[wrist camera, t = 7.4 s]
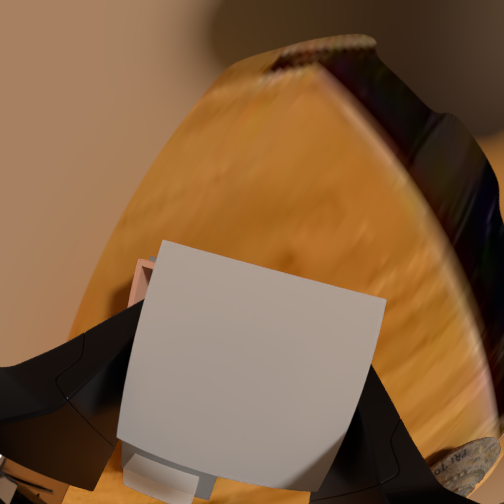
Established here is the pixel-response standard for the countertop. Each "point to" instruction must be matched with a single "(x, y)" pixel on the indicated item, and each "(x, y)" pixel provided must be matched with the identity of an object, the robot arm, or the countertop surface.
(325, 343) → the grey block
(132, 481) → the board
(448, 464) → the fossilized seashell
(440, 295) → the countertop surface
